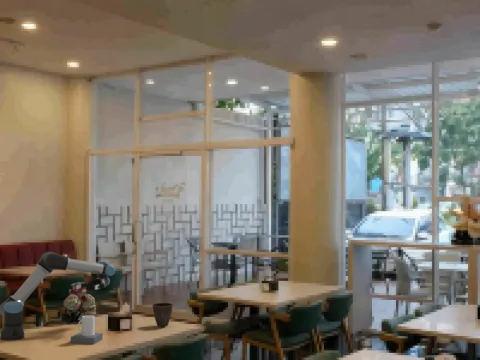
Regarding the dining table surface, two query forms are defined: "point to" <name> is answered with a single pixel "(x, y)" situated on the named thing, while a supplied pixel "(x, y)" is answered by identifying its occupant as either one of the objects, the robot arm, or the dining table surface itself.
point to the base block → (86, 338)
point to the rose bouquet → (77, 305)
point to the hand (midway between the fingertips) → (86, 287)
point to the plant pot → (162, 313)
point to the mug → (87, 325)
